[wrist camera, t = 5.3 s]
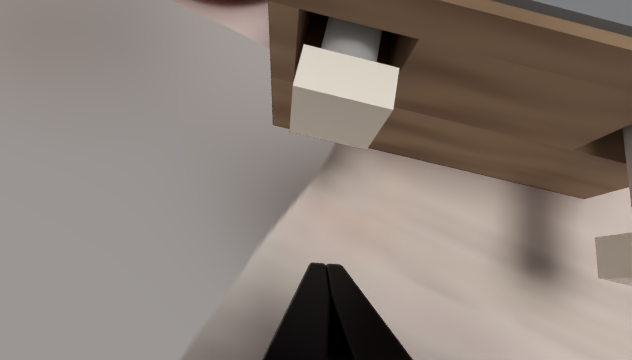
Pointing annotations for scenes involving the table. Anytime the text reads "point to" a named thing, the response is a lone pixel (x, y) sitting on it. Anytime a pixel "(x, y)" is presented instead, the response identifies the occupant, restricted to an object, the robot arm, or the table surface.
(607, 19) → the card
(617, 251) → the button
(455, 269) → the table surface
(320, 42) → the button box
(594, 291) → the table surface
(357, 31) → the button
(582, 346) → the table surface
